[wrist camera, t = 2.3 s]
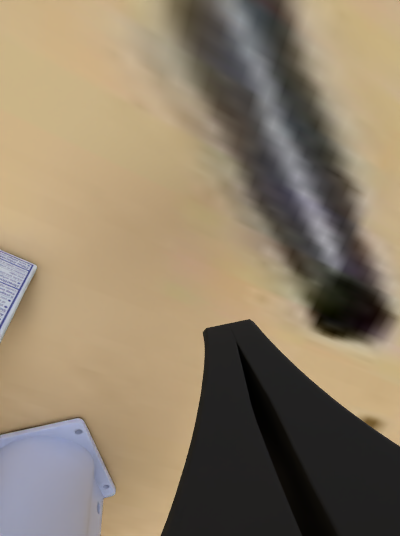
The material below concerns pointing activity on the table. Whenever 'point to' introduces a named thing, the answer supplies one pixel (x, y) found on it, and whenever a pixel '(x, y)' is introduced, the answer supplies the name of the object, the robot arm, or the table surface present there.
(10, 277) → the medicine box
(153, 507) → the table surface
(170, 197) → the table surface
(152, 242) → the table surface
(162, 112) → the table surface
